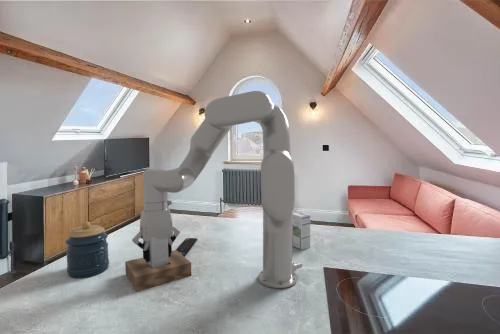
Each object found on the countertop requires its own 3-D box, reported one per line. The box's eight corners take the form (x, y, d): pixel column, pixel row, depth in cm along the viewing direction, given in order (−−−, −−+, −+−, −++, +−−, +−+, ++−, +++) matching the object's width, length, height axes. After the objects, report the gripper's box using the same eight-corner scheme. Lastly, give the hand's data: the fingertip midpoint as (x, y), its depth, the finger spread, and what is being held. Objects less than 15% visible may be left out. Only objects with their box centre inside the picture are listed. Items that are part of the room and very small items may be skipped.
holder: (176, 261, 107) (176, 249, 107) (191, 275, 96) (191, 262, 95) (125, 274, 97) (125, 261, 96) (135, 291, 85) (135, 277, 85)
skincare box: (163, 263, 100) (162, 230, 99) (169, 267, 97) (168, 233, 96) (146, 268, 95) (145, 234, 94) (152, 273, 92) (151, 237, 91)
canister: (62, 271, 100) (59, 222, 98) (101, 259, 109) (99, 215, 108) (73, 283, 91) (70, 229, 89) (115, 269, 100) (112, 221, 99)
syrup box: (310, 247, 120) (311, 214, 119) (300, 250, 117) (301, 216, 116) (301, 243, 125) (301, 211, 124) (291, 246, 122) (291, 213, 121)
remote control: (168, 262, 108) (167, 258, 107) (186, 240, 131) (186, 237, 131) (181, 262, 107) (181, 259, 107) (197, 240, 131) (197, 238, 131)
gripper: (176, 201, 102) (178, 249, 104) (125, 207, 92) (128, 260, 94) (184, 204, 96) (186, 255, 98) (131, 212, 86) (133, 268, 88)
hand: (157, 257), depth 96 cm, fingers closed on skincare box, 6 cm apart
